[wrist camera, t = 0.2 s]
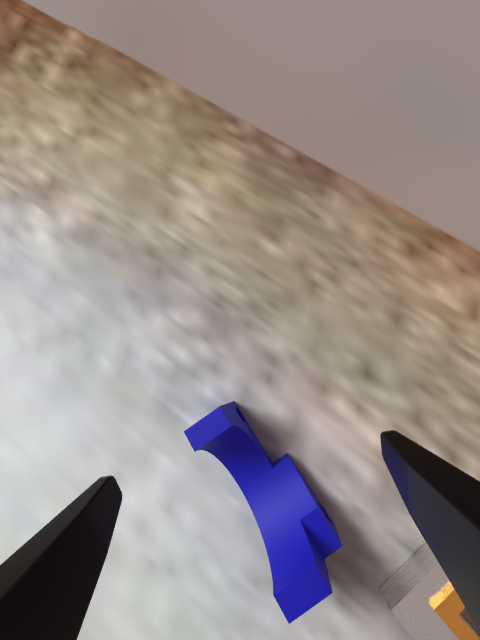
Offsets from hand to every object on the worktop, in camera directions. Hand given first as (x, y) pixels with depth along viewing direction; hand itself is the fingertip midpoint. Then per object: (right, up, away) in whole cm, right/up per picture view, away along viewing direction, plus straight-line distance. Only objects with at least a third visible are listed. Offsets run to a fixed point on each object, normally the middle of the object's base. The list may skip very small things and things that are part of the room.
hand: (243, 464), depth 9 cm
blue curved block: (+2, -8, +14) cm, 16 cm away
